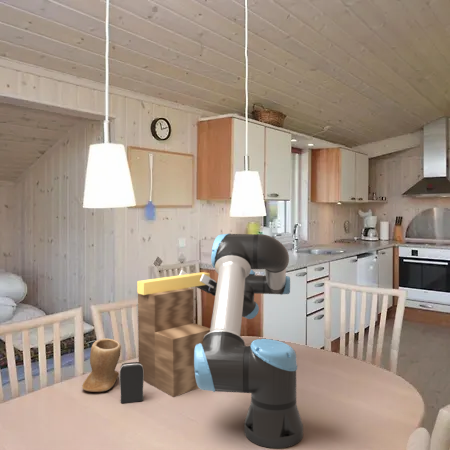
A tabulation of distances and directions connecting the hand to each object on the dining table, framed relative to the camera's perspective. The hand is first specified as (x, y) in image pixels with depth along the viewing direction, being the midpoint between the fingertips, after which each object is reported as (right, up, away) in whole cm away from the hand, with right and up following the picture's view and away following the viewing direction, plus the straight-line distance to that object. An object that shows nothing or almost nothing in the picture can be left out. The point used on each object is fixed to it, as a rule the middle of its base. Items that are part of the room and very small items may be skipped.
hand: (190, 275), depth 156 cm
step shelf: (-5, -34, -9) cm, 36 cm away
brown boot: (-28, -35, -13) cm, 46 cm away
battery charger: (-16, -35, -24) cm, 46 cm away
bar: (-5, -4, -4) cm, 8 cm away
